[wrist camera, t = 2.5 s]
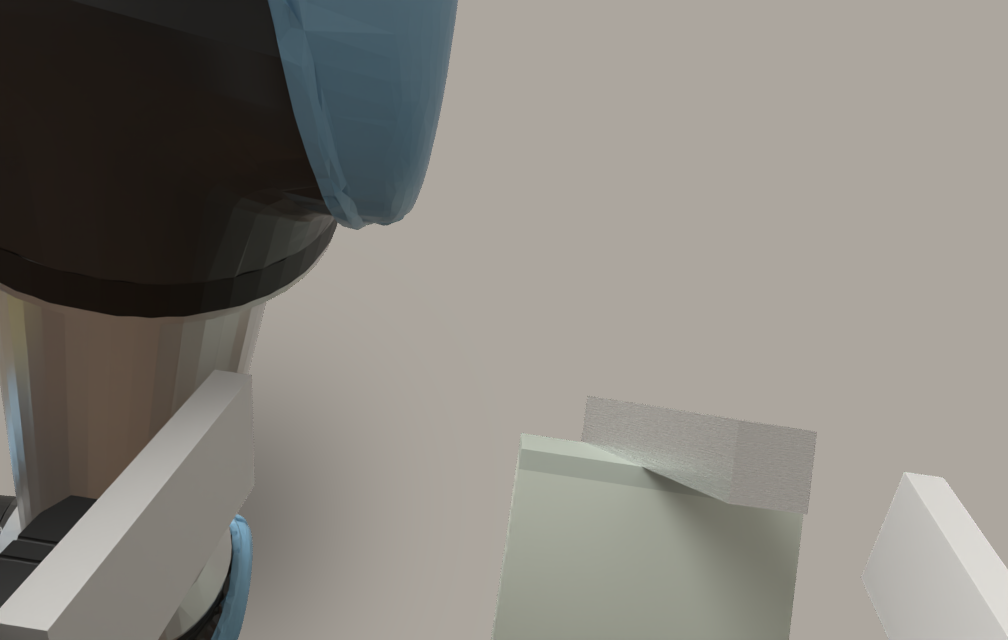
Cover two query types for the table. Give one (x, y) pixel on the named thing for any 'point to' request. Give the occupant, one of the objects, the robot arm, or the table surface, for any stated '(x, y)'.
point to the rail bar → (708, 452)
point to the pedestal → (637, 555)
